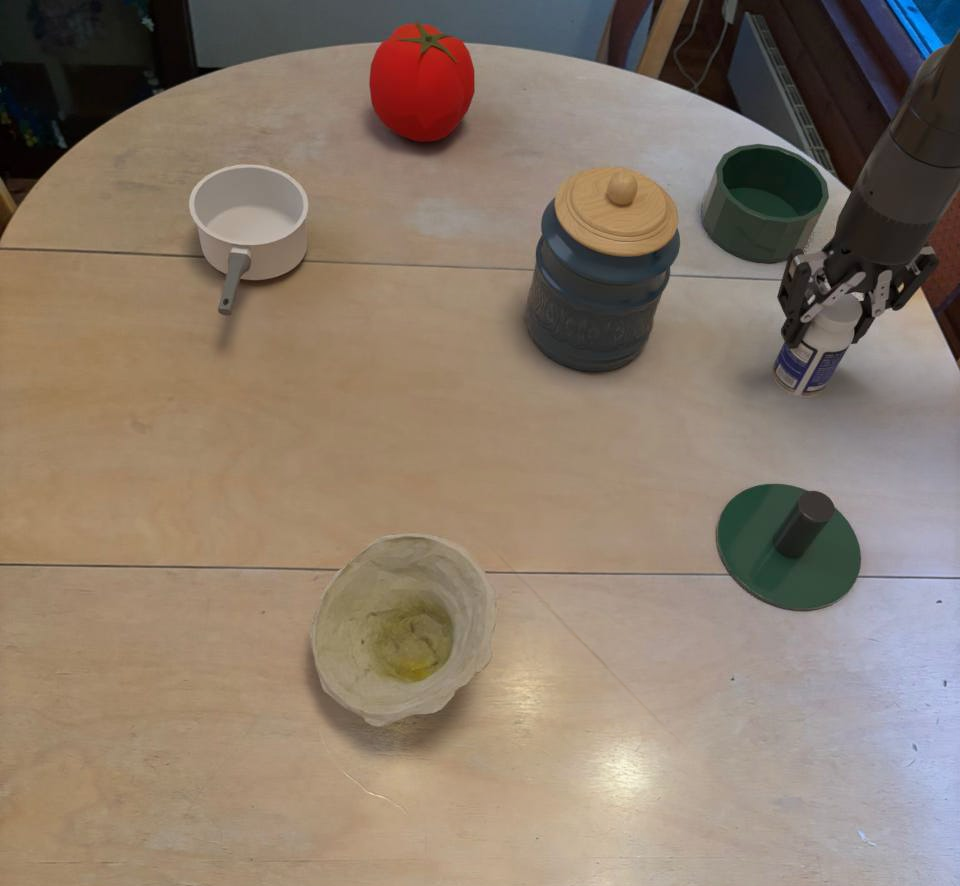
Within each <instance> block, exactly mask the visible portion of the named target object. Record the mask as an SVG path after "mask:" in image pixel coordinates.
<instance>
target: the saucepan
mask: <svg viewBox="0 0 960 886" xmlns="http://www.w3.org/2000/svg"><path fill="white" fill-rule="evenodd" d="M188 207H189V213H190V215H191V218H192V219H193V222H195V223H196V227H197V232H198V237H199V243H200V247H201V252H202V254H203V256H204V258H205V259H206V261H208V263H209V264H210V265H211V266H212V267H213V268H214V269H216V270H217V271H219V272H220V273H223V274H225V275H226V276H225V279H224V284H223V288H222V291H221V295H220V299H219V302H218V308H217V311H218V314H220V315H221V316H226V317H227V316H231V315H232V313H233V308H234V304H235V300H236V297H237V294H238V290H239V286H240V282H241V280H245V281H249V280H250V281H262V280H269V279H274V278H277V277H279V276H283V275H285V274H286V273H289V272H291V270H294V269H295V268H296V267H297V266H298V265H299V264H300V263H301V262H302V261H303V259H304V257H305V255H306V252H307V250H308V231H307V220H306V219H307V214H308V212H309V200H308V195H307V193H306V191H305V189H304V188H303V186H302V185H301V184H300V182H298V181H297V179H294V178H293V177H292V176H290V175H289V174H288V173H286V172H284V171H281V170H280V169H276V168H274V167H271V166H266V165H260V164H248V163H247V164H235V165H230V166H225V167H223V168H220V169H217V170H215V171H213V172H211V173H209V174H207V175H205V176H204V177H203V178H202V179H200V180H199V181H198V182H197V183H196V185H195V186H194V188H193V189H192V191H191V193H190V196H189V200H188Z"/></svg>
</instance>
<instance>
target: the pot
mask: <svg viewBox="0 0 960 886" xmlns="http://www.w3.org/2000/svg"><path fill="white" fill-rule="evenodd" d="M829 198H830V195H829V187H828V182H827V180H826V179H825V178H824V176H823V174H822V172H820V171H819V169H818V168H817V166H815V165H814V164H813V163H812V162H810V161H808V159H806V158H804V157H803V156H802V155H801V154H799V153H796V152H794V151H791V150H789V149H786V148H783V147H781V146H777V145H771V144H770V145H769V144H764V143H754V144H746V145H739V146H736V147H735V148H733V149H730V150H729V151H728V152H726V153H724V154H722V157H721V158H720V160H719V162H718V163H717V165H716V166H715V169H714V171H713V175H712V177H711V180H710V183H709V186H708V188H707V192H706V194H705V197H704V199H703V203H702V206H701V222H702V226H703V228H704V231H705V232H706V233H707V235H708V236H709V237H710V239H711V240H712V241H713V242H714V243H715V244H716V245H718V246H719V247H720V248H722V249H723V250H724V251H725V252H728V253H730V254H731V255H733V256H736V257H738V258H740V259H743V260H747V261H750V262H755V263H764V264H771V263H772V264H773V263H780V262H785V261H788V257H789V254H790V253H791V252H792V251H793V250H794V249H797V248H800V249H802V251H803V250H804V249H805V247H806V246H807V244H808V242H809V240H810V238H811V235H812V234H813V232H814V230H815V228H816V226H817V223H818V222H819V220H820V218H821V216H822V214H823V211H824V209H825V207H826V205H827V203H828V201H829Z"/></svg>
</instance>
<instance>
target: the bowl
mask: <svg viewBox="0 0 960 886" xmlns="http://www.w3.org/2000/svg"><path fill="white" fill-rule="evenodd" d="M497 601H498V600H497V593H496V591H495V588H494V586H493V584H492V583H491V581H490V579H489V576H488V575H487V573H486V571H485V569H484V568H483V567H482V566H481V565H480V564H479V562H478V560H477V558H475V556H474V555H473V554H472V553H471V551H470V550H469V549H467V548H466V547H465V546H463V545H461V544H459V543H457V542H455V541H453V540H450V539H446V538H443V537H441V536H436V535H433V534H427V533H419V532H411V533H396V534H387V535H383V536H379V537H377V538H376V539H374V540H372V541H370V543H368V544H367V545H366V546H365V547H364V548H363V549H362V550H361V551H359V552H358V553H356V555H355V556H354V557H353V558H352V559H350V560H349V561H348V562H347V563H346V564H345V565H344V566H342V567H341V568H340V569H339V570H337V571H336V572H335V574H333V576H332V578H331V579H330V580H329V581H328V582H327V584H326V586H325V588H324V590H323V591H322V593H321V596H320V597H319V601H318V603H317V607H316V610H315V613H314V619H313V623H312V626H311V628H310V631H309V634H308V637H310V641H311V643H310V644H311V652H312V655H313V657H314V666H315V669H316V672H317V674H318V678H319V681H320V685H321V688H322V690H323V691H324V692H323V693H326V694H327V695H328V696H330V697H331V698H332V699H333V700H335V702H337V703H338V704H339V705H340V706H341V707H342V708H344V709H345V710H347V711H350V712H352V713H354V714H356V715H358V716H360V717H362V718H363V719H364V721H365V723H367V724H369V725H371V726H373V727H383V726H388V725H390V724H392V723H395V722H398V721H399V720H402V719H404V718H407V717H409V716H413V715H428V714H435V713H436V712H438V711H440V710H442V709H443V708H444V707H445V706H446V705H447V704H448V703H449V701H451V699H452V698H453V697H454V696H455V694H456V692H457V691H458V690H459V689H460V688H462V687H463V686H466V685H467V684H468V683H469V682H470V681H471V680H472V678H473V677H475V676H478V674H480V673H481V672H482V671H484V670H485V669H486V668H487V667H488V666H489V664H490V662H491V660H492V659H493V649H492V636H493V633H494V630H495V628H496V624H497V619H498V612H497V607H498V605H497V603H498V602H497Z"/></svg>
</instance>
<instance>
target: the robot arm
mask: <svg viewBox="0 0 960 886" xmlns="http://www.w3.org/2000/svg"><path fill="white" fill-rule="evenodd" d="M959 191H960V28H958V31H957V33H956V34H955V36H954V38H953V39H952V41H951V43H950V44H949V43H948V44H945V45H942V46H941V47H938V48H936V49H935V50H934V51H933V52H932V53H930V54H929V55H928V56H927V57H926V59H925V60H924V61H923V62H922V63H921V64H920V66H919V68H918V69H917V71H916V73H915V75H914V76H913V78H912V80H911V81H910V83H909V86H908V87H907V89H906V91H905V94H904V95H903V97H902V99H901V101H900V103H899V105H898V107H897V108H896V110H895V112H894V114H893V116H892V118H891V120H890V122H889V124H888V125H887V127H886V128H885V130H884V131H883V133H882V134H881V136H880V137H879V139H878V140H877V141H876V144H875V145H874V147H873V149H872V150H871V152H870V154H869V156H868V158H867V160H866V162H865V164H864V166H863V168H862V169H861V171H860V174H859V175H858V177H857V180H856V181H855V184H854V185H853V188H852V189H851V191H850V193H849V195H848V197H847V198H846V201H845V203H844V205H843V207H842V209H841V211H840V213H839V214H838V217H837V220H836V226H835V231H834V235H833V236H832V238H831V239H830V240H829V241H828V242H827V243H826V244H825V245H824V246H823V247H822V248H821V250H820V251H817V252H813V253H812V252H811V253H807V254H805V253H804V251H803V250H802V249H800V248H797V249H794V250H793V251H792V252H791V253H790V254H789V257H788V260H786V264H785V267H784V271H783V275H782V278H781V281H780V285H779V289H778V292H777V295H776V298H777V300H778V303H779V305H780V307H781V310H782V312H783V315H784V316H785V318H786V319H785V320H784V323H783V325H782V327H781V329H780V334H781V337H782V339H783V342H785V344H786V345H787V347H788V349H796V348H798V346H799V344H800V342H801V340H802V339H803V337H804V335H805V333H806V331H807V329H808V328H809V326H810V324H811V319H813V318H814V317H815V316H816V315H817V314H818V313H819V312H820V311H821V310H822V309H823V308H824V307H831V306H832V305H833V304H834V303H836V302H837V301H838V300H839V299H840V298H841V297H842V296H843V295H845V294H849V293H851V294H853V293H858V294H862V298H863V299H862V300H858V301H859V302H860V304H861V306H862V314H861V317H860V319H859V320H858V322H857V324H856V326H855V327H854V337H853V340H852V342H851V344H850V345H856V344H858V342H859V341H860V339H862V338H863V337H864V336H865V335H866V334H867V333H868V331H869V330H870V328H871V326H872V325H873V323H874V321H875V319H876V318H878V317H880V316H882V315H883V314H884V313H885V312H886V310H889V309H891V310H892V311H893V312H897V311H900V310H901V309H903V308H904V307H905V306H906V305H907V304H908V302H909V301H910V300H911V298H912V297H913V296H914V295H915V294H916V293H917V291H919V289H920V288H921V287H922V285H923V284H924V283H926V281H927V279H928V278H929V277H930V276H931V275H932V274H933V272H934V271H935V270H936V269H937V268H938V266H939V265H940V260H939V258H938V257H937V254H936V252H935V251H934V248H933V246H931V244H930V242H929V241H928V240H929V239H930V238H931V235H932V234H933V232H934V230H935V229H936V227H938V224H939V223H940V221H941V220H942V218H943V216H944V215H945V213H946V212H947V210H948V208H949V207H950V205H951V204H952V202H953V200H954V199H955V197H956V196H957V194H958V193H959ZM826 281H827V284H828V286H829V288H831V290H829V291H828V289H827V288H828V287H827V285H826ZM902 285H903V287H902V288H901V290H899V289H900V287H901V286H902ZM814 296H815V299H814V301H813V302H812V303H811V302H810V303H811V304H810V303H809V300H811V298H813V297H814Z"/></svg>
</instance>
